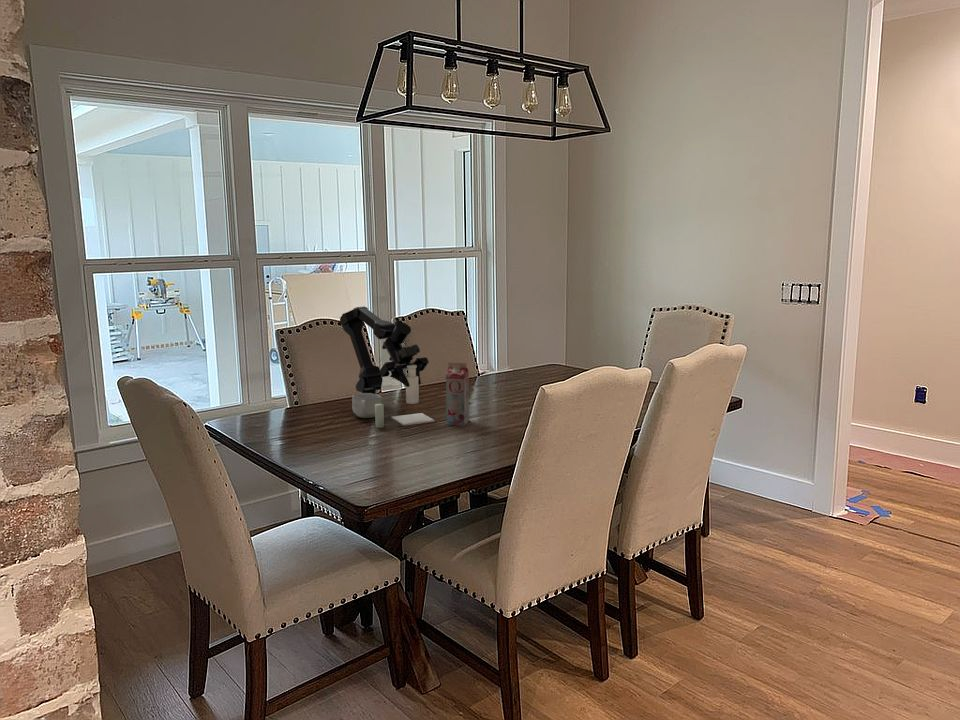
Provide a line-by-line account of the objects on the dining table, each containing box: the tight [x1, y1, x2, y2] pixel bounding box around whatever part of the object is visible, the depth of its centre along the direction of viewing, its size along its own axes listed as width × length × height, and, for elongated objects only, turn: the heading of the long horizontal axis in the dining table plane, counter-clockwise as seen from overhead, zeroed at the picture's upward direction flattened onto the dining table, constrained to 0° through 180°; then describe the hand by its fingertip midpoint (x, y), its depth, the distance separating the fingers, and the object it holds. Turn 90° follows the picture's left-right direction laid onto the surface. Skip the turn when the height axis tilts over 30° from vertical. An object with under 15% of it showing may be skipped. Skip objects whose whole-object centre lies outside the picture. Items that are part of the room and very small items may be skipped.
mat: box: [391, 412, 435, 426], centre depth 279 cm, size 12×12×1 cm
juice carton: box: [445, 362, 470, 426], centre depth 273 cm, size 7×7×22 cm
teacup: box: [351, 392, 382, 419], centre depth 283 cm, size 14×11×8 cm
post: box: [374, 403, 385, 429], centre depth 269 cm, size 3×3×8 cm
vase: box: [405, 365, 420, 405], centre depth 277 cm, size 5×5×14 cm
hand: (414, 385), depth 276 cm, fingers closed on vase, 5 cm apart
